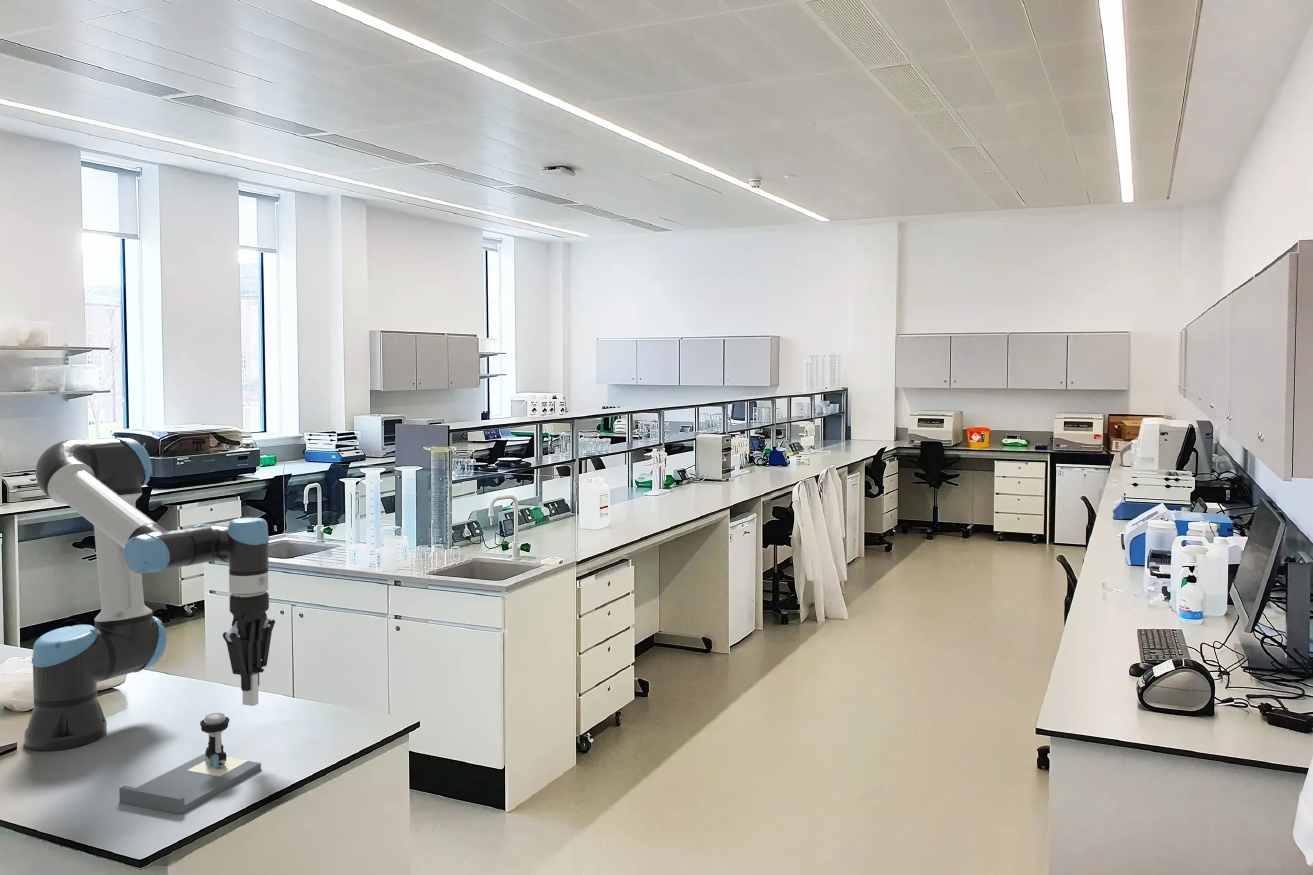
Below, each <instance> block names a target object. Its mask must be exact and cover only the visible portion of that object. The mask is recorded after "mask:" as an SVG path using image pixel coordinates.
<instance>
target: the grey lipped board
mask: <svg viewBox="0 0 1313 875" xmlns="http://www.w3.org/2000/svg"><path fill="white" fill-rule="evenodd" d="M225 762H227V763H225V766H226V767H225V768H222V767H220V768H217V769H215V768H213V767H212V766H210V765H209V767H208V766H207V765H206V762H205V753H203V754H201V755H199V756H197V757H195V758H193V759H191V760H189V761H187V762H185V763H183V764H180V765H179V766H177V767H175V768H173V769H171V770H169V771H166V772H165V773H163V774H161V775H159V776H157V777H155V778H153V779H150V780H148V781H147V782H144V783H143V784H140V785H139V786H137V787H133V786H129V785H121V786H120V787H118V788H119V789H118V790H119V791H118V796H119V799H118V800H119V804H126V805H131V806H137V807H142V808H146V809H152V810H156V811H162V812H166V813H171V814H176V815H183V813H185V812H187V811H188V810H190V809H192V808H194V807H196V806H198V805H199V804H202V803H203V802H205V801H207V800H209V799H210V798H212V797H214V796H215V795H218V794H219V793H221V792H222V791H225V790H226V789H228V788H230V787H231V786H233V785H235V784H236V783H239V782H240V781H242V780H244V779H246V778H247V777H249V776H251V775H252V774H254V773H256V772H258V771H260V770H261V769H262V763H261V762H257V761H251V760H249V759H248V760H247V759H242V758H235V757H231V756H226V761H225Z"/></svg>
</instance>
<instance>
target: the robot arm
mask: <svg viewBox="0 0 1313 875" xmlns="http://www.w3.org/2000/svg"><path fill="white" fill-rule="evenodd" d="M145 448H146V447H144V446H143V445H142V444H141V443H140V442H139V441H137V440H135V439H133V438H129V437H106V438H104V437H103V438H92V439H91V438H89V439H68V440H67V439H66V440H61V441H60V442H57V443H55V444H53V445H51V446H49V447H48V448H47V449H46V450H45V451H44V452H43V453H41V456H40V457H39V458H38V460H37V463H36V466H35V479H36V481H37V485H38V486H39V488H40V489H41V490H42V492H43V493H44V494H45V495H46V496H47V497H49V498H50V499H51V500H52V501H54V502H56V503H59V504H66V505H67V506H69V507H70V508H71V509H73V510H74V511H75V512H76V513H78V514H79V515H80V516H82V517H83V518H84V519H85V520H87V521H88V522H90V524H92V525H93V530H94V541H95V542H94V543H95V554H96V564H97V574H98V575H97V576H98V577H97V578H98V586H99V587H98V588H99V589H98V590H99V599H100V608H101V610H100V612H99V613H98V614H97V615H96V616H95V618H93V620H94V626H93V625H91V624H75V625H71V626H69V625H68V626H64V627H60V628H59V627H58V628H56V629H52V630H50V631H48V632H46V633H44V634H42V635H40V637H38V638H37V639H36V640H35V642H34V644H33V650H32V656H31V664H32V678H33V679H32V681H33V682H32V684H33V686H32V688H33V690H32V691H33V692H32V693H33V707H32V711H31V715H30V718H29V722H28V725H27V728H26V729H25V731H24V735H23V736H24V738H23V740H24V746H25V747H26V748H28V749H31V750H34V751H35V750H36V751H58V750H66V749H71V748H77V747H81V746H83V745H87V744H90V743H93V742H95V741H97V740H99V739H101V738H102V737H104V736H105V735H106V734H107V731H108V730H107V729H108V727H107V725H108V724H107V719H106V717H105V714H104V713H103V709H102V707H101V704H100V702H99V700H98V683H101V682H103V681H107V680H110V679H114V678H117V677H121V676H124V675H128V674H131V673H139V672H141V671H143V670H145V669H148V668H151V667H153V666H154V665H156V664H157V663H159V661H160V660H161V658H162V657H163V655H164V653H165V651H166V646H167V638H168V637H167V631H166V628H165V626H164V625H163V622H162V621H161V619H160V618H158V617H156V616H154V615H153V614H154V613H153V609H151V608H150V607H148V606H147V605H145V599H144V587H143V586H144V584H143V575H142V574H149V573H150V574H151V573H153V574H154V573H158V572H162V571H167V570H171V569H177V568H182V567H188V566H193V565H199V564H204V563H210V562H221V563H228V569H229V570H228V575H229V576H228V591H229V593H230V595H229V612H230V613H231V614H232V616H233V618H232V621H231V628H230V629H229V631H224V632H222V638H223V639H224V641H225V643H226V646H227V651H228V656H229V662H230V665H231V667H230V668H231V670H232V674H233V675H236V676H237V675H239V676H240V689H241V691H242V706H249V707H254V706H256V705H259V686H260V673H263V672H264V671H265V668H264V667H267V666H268V665H267V664H268V659H269V653H270V646H271V639H272V635H273V634H272V633H273V629H274V626H275V624H276V620H275V619H272V618H271V619H270V618H268V615H267V614H268V613H267V611H268V610H269V608H270V594H269V593H268V592H267V591H268V590H269V541H270V537H269V528H268V522H267V521H266V519H264V518H261V517H239V518H235V519H231V520H229V523H228V525H222V524H216V523H213V522H212V523H211V522H209V523H198V524H196V525H194V526H193V527H191V528H186V529H183V528H182V529H178V530H166V529H165V528H164V527H162V526H160V525H159V524H158V523H157V522H156V521H154V520H153V519H151V518H150V517H148V515H147V514H145V513H144V512H142V511H141V510H139V509H138V508H137V507H136V506H137V505H136V502H137V500H138V499H139V498H140V497H141V496H142V495H143V491H142V487H144V486H145V485H147V483H149V481H150V477H151V476H152V472H153V471H152V469H153V466H152V460H151V457H150V455H149V453H148V451H147V449H145Z"/></svg>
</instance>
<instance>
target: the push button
mask: <svg viewBox="0 0 1313 875" xmlns="http://www.w3.org/2000/svg"><path fill="white" fill-rule="evenodd" d="M229 723H230V718H229V717H227V716H225V714H224V713H222V712H214V713H209V714H207V715H205V716H204V719H202V720H200V722H199V726H200V730H201V731H202V732H203V733H206V734H208V742H207V746H208V747H206V749H205V751H204V752H205V753H204V754H205V762H206V765H207V766H208V767H209V765H210V766H212V767H213V768H215V769H217V768H220V767H222V768H225V767H226V766H225V763H227V762H225V761H226V757H227V752H225V751H224V745H223V744H222V733H223V732H224V731H225V730H227V728H228V727H229Z"/></svg>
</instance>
